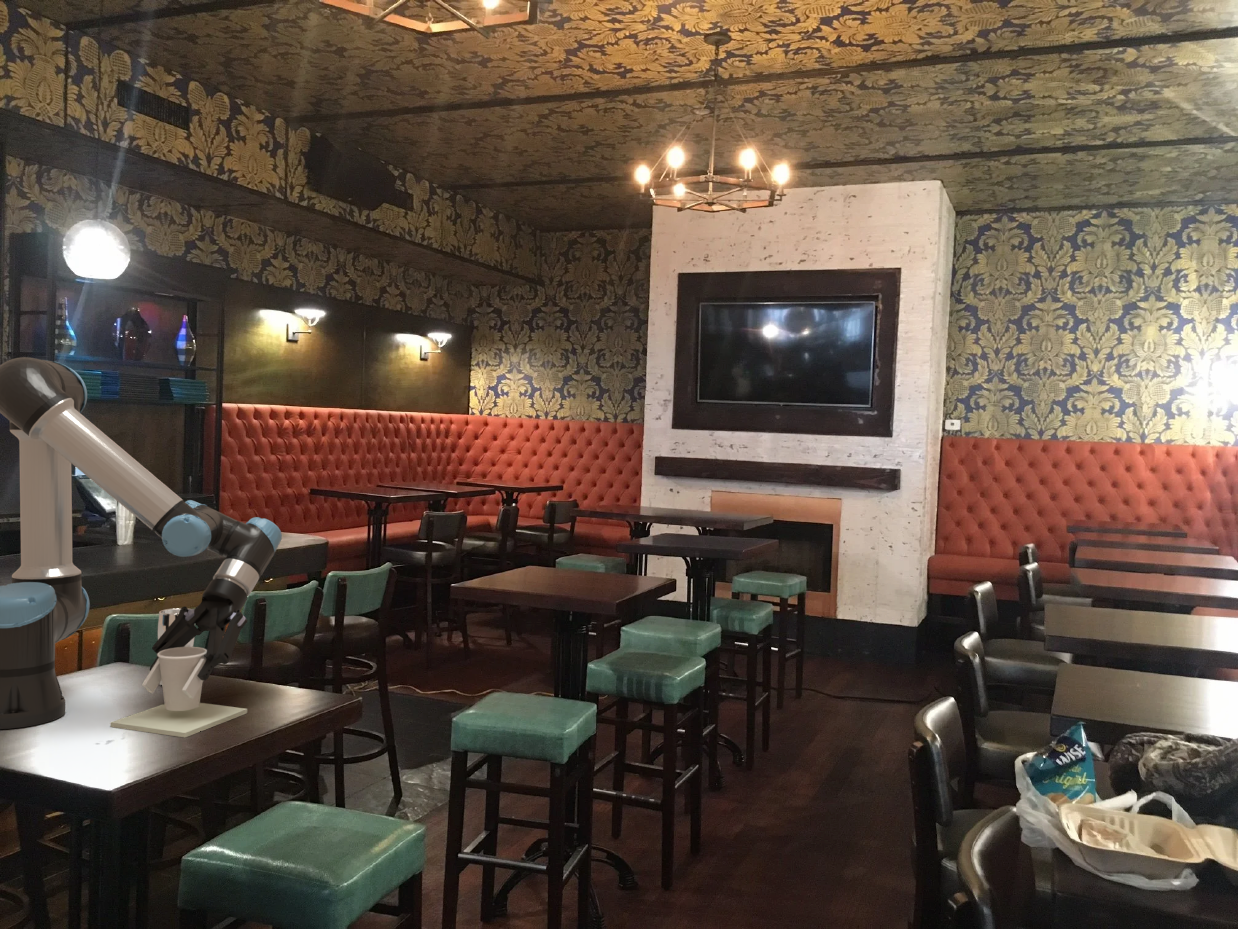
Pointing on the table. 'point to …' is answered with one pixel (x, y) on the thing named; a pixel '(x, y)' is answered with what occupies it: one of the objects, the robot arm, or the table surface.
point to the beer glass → (169, 623)
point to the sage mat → (179, 719)
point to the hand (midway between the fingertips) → (167, 691)
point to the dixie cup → (179, 676)
